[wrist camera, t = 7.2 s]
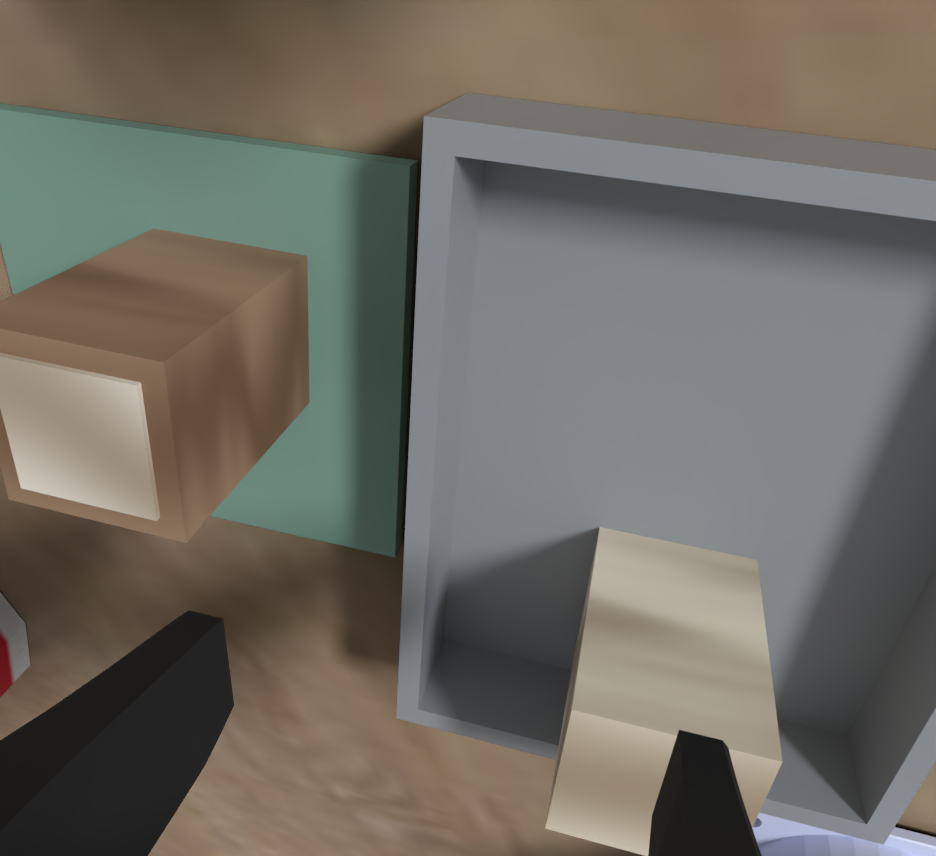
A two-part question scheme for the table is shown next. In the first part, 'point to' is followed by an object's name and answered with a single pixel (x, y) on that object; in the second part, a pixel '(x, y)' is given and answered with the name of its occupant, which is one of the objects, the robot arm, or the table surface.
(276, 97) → the table surface
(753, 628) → the birch block
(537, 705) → the tray
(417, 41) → the table surface
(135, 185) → the mat
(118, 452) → the walnut block
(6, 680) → the spray bottle
